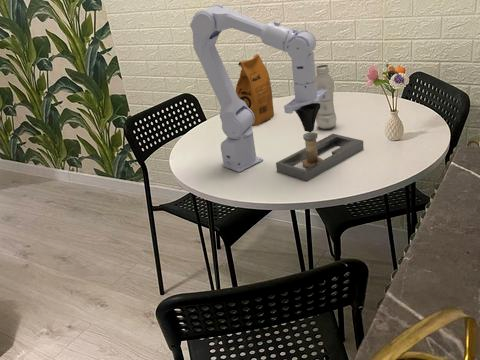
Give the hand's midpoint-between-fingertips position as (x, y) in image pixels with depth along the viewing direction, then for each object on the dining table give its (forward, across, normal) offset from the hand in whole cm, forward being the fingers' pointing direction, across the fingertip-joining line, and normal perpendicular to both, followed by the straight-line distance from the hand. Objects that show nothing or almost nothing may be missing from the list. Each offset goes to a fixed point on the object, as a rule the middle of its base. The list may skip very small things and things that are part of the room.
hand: (309, 130), depth 136 cm
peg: (+10, +1, +1) cm, 10 cm away
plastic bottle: (+11, +24, +15) cm, 31 cm away
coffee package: (+11, +18, +42) cm, 47 cm away
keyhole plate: (+10, +5, 0) cm, 12 cm away
